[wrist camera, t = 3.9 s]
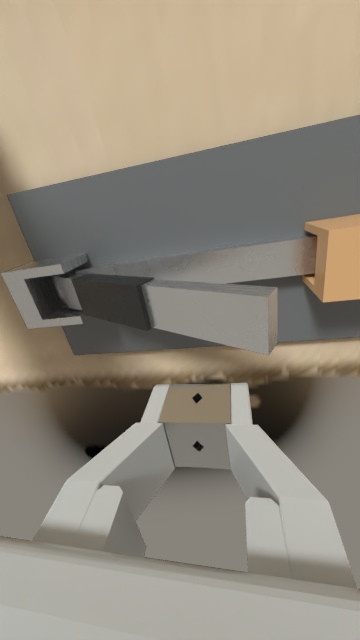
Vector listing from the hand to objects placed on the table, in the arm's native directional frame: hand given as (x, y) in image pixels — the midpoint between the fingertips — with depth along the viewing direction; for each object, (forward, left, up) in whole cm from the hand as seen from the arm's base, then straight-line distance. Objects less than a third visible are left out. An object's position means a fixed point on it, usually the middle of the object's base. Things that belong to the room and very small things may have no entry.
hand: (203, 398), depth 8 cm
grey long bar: (-3, 0, -17) cm, 17 cm away
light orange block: (+10, 0, -17) cm, 19 cm away
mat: (-2, 0, -18) cm, 18 cm away
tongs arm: (-6, 0, -10) cm, 12 cm away
